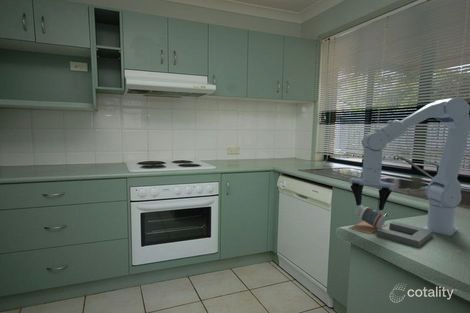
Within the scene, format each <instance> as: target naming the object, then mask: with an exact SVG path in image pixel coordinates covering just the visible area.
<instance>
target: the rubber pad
mask: <svg viewBox="0 0 470 313" xmlns="http://www.w3.org/2000/svg"><path fill="white" fill-rule="evenodd" d="M386 226H387V223H384V224H383V226H382V227H381V228H382V229H383V228H384V227H386ZM349 229H351V230H355V231H358V232H361V233H366V234H369V235H371V234H372V233H374V232H377V230H378V229H377V228H375V227H373V226H372V225H370V224H368V223H366V222H364V221H361V222H359V223H357V224H354V225H352V226H350V227H349Z"/></svg>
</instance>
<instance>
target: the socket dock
mask: <svg viewBox="0 0 470 313" xmlns="http://www.w3.org/2000/svg"><path fill="white" fill-rule="evenodd" d="M388 227H389V229H386V228H383V227H382V228H380V229H378V230H376V236H377V237H380V238H384V239H387V240H390V241H394V242H398V243H402V244H404V245H405V244H406V245H409V246H412V247H416V248H420V247H421V246H422V245H424V244H425V243H426V242H428V240H430V239H431V238H432V237H433V236H434V235H433V234H434V232H433V231H431V230H427V229H423V227H418V226H415V225H411V224H410V225H409V224H405V223H400V222H396V221H391V222H390V223H389V226H388ZM401 232H402V233H401ZM405 233H407V234H405ZM409 234H410V235H409Z"/></svg>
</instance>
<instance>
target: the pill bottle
mask: <svg viewBox="0 0 470 313" xmlns="http://www.w3.org/2000/svg"><path fill="white" fill-rule="evenodd" d="M354 215H355V216H356V217H359V219H360V220H361V222H363V221H364V222H366V223H368V224H370V225H372V226H373V227H375V228H377V229H380V228H381V227H382V226H383V224H386V219H387V216H386V215H385V214H384V213H382V212H379V210H378V211H377V210H376V209H373V208H371V207H369V206H366V207H365V206H364V205H362V204H361V205H359V206H358V205H357V207H356V209H355V210H354ZM382 228H383V227H382Z"/></svg>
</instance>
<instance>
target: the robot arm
mask: <svg viewBox="0 0 470 313" xmlns="http://www.w3.org/2000/svg"><path fill="white" fill-rule="evenodd" d="M430 118H434V119H436V120H438V121H440V122H441V123H443V124H444V126H445V127H446V128H448V132H447V135H446V139H445V142H444V147H443V150H442V155H441V159H440V161H439V162H440V163H439V165H438V169H437V174H436V175H434V176H433V177H432V178H431V180H430V182H429V184H428V185H426V188H425V196H426V197H427V198H428V207H427V208H428V210H427V222H426V225H425V226H424V227H422V228H423V229H427V230H431V231H433V233H437V234H442V235H444V236H445V235H446V236H450V237H451V236H453V235H454V234H455V233H456V232H457V231H458V228H457V227H455V224H456V223H455V222H456V208H457V206H458V205H460V202H461V201H462V193H461V192H462V184H461V182H460V181H459V180H458V176H459V172H460V168H461V164H462V160H463V157H464V154H465V150H466V148H467V142H468V139H469V136H470V104H469V103H468V102H467V101H466V100H465V99H464V98H463V97H461V96H456V97H452V98H451V97H450V98H446V99H436V100H434V102H431V103H428V104H426V105H424V106H423V107H421V108H420V109H417V110H416V111H415V112H412V113H411V114H410V115H408V116H406V117H405V118H403V119H401V120H398V119H394V120H393V119H392V120H391V119H389V120H388V121H386V123H387V124H385V125H383V126H381V127H380V128H379V127H378V128H375V129H374V130H373V131H374V132H369V133H366V134H365V135H364V136H363V138H362V140H361V141H360V142H361V145H362V147H363V158H362V174H361V175H362V177H361V178H357V177H351V178H349V181H348V182H349V185H350V189H351V191H352V193H353V195H354V200H355V203H356V206H357V207H358V206H359V205H362V198H363V196H362V195H363V191H364V190H363V189H364V186H366V187H371V188H378V196H379V197H378V198H379V201H378V202H379V203H378V211H384V208H385V205H386V202H387V201H388V198H389V197H390V195H391V193H392V192H393V191H394V190H395V189H396V183H393V182H392V183H391V182H387V181H382V165H383V164H382V163H383V149H385V147H386V146H387V145H388V144H390V143H391V142H393V141H395V140H398V139H399V138H401V137H402V136H405V135H406V133H407V132H406V131H407V129H409V128H411V127H413V126H416V125H418V124H420V123H421V122H424V121H425V120H428V119H430Z"/></svg>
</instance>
